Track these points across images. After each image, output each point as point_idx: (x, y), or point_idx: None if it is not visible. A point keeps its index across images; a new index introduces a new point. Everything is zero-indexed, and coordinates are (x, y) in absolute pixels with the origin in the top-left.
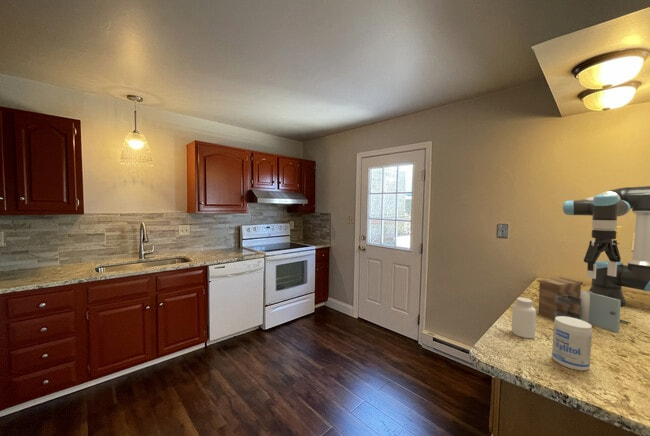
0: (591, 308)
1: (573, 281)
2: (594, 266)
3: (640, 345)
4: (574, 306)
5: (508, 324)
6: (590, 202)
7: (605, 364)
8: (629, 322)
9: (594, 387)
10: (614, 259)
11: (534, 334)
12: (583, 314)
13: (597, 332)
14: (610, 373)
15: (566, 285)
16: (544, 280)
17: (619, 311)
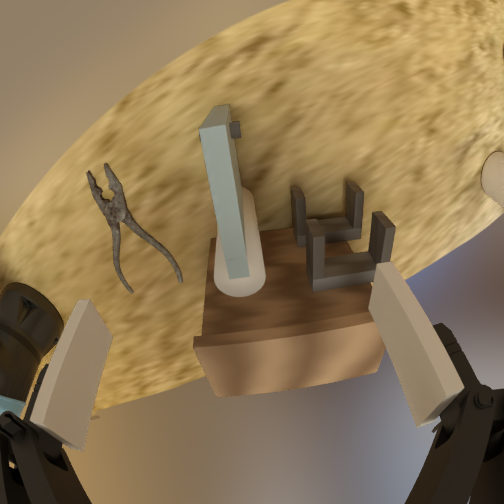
0: (242, 207)
1: (237, 357)
2: (450, 363)
3: (268, 18)
4: None
5: (473, 222)
6: None
7: (474, 20)
8: (89, 174)
9: None
10: (43, 457)
11: (500, 154)
12: (255, 210)
13: (304, 117)
14: (491, 9)
15: (331, 322)
16: (364, 366)
17: (212, 117)
